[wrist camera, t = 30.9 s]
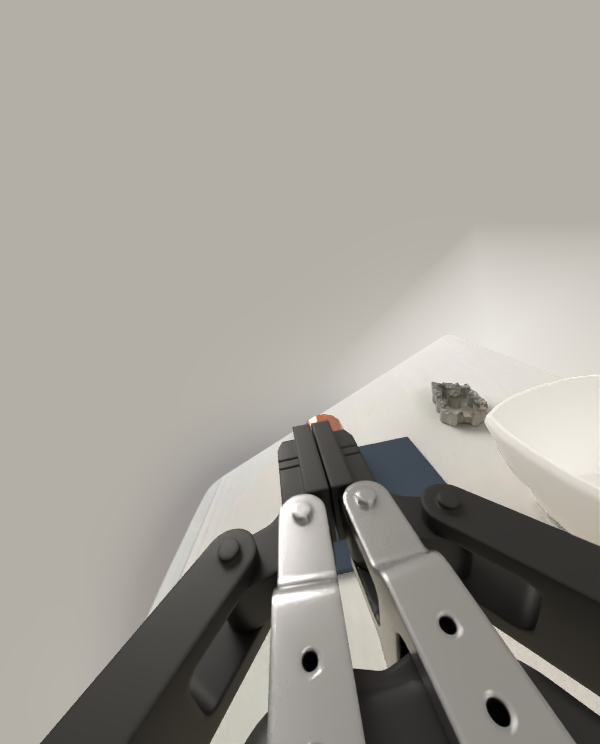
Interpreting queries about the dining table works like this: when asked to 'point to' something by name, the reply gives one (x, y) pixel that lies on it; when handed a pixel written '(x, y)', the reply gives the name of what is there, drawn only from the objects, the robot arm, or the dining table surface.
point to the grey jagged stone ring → (458, 404)
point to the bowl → (556, 448)
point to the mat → (392, 479)
